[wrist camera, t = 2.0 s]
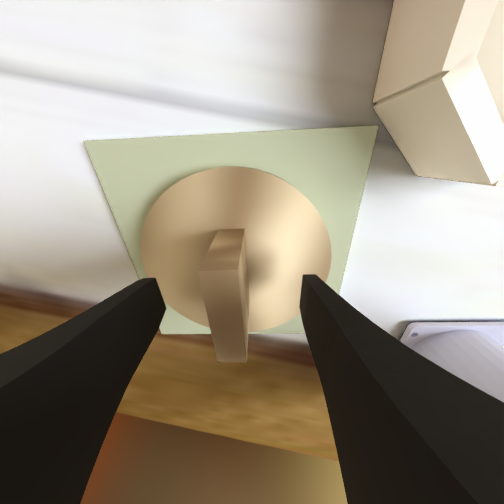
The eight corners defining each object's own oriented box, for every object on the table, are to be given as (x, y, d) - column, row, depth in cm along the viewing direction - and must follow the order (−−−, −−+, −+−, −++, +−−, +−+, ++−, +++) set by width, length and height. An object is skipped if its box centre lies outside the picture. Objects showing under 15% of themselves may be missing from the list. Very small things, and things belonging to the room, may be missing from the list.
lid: (340, 160, 9) (422, 164, 5) (314, 320, 14) (340, 395, 10) (121, 171, 9) (2, 185, 5) (174, 322, 15) (138, 394, 10)
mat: (328, 329, 15) (329, 333, 15) (164, 330, 16) (161, 334, 15) (373, 126, 9) (378, 125, 8) (89, 141, 9) (83, 140, 9)
